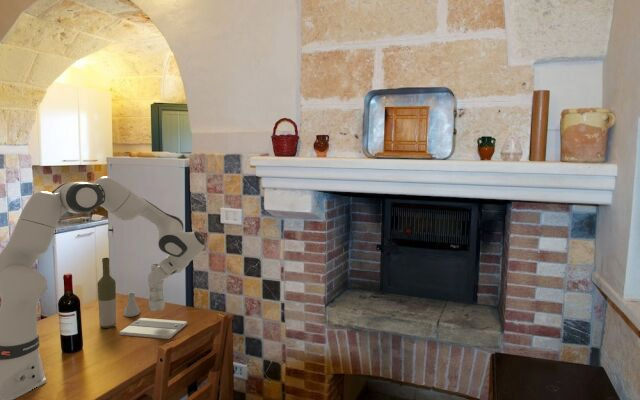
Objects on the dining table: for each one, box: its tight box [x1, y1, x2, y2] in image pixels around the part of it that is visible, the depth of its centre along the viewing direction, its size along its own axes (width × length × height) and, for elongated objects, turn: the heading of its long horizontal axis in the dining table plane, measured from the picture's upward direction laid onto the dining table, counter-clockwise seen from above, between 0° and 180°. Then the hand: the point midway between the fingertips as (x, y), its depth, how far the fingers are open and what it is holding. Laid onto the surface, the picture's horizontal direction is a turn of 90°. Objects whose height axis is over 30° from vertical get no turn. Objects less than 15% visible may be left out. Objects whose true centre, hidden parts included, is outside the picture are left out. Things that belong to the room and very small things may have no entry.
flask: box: [122, 292, 141, 318], centre depth 206 cm, size 7×7×10 cm
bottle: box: [96, 257, 117, 329], centre depth 191 cm, size 7×7×30 cm
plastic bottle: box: [147, 263, 166, 312], centre depth 191 cm, size 6×7×20 cm
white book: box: [119, 317, 188, 340], centre depth 190 cm, size 16×22×2 cm
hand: (154, 283), depth 190 cm, fingers closed on plastic bottle, 6 cm apart
